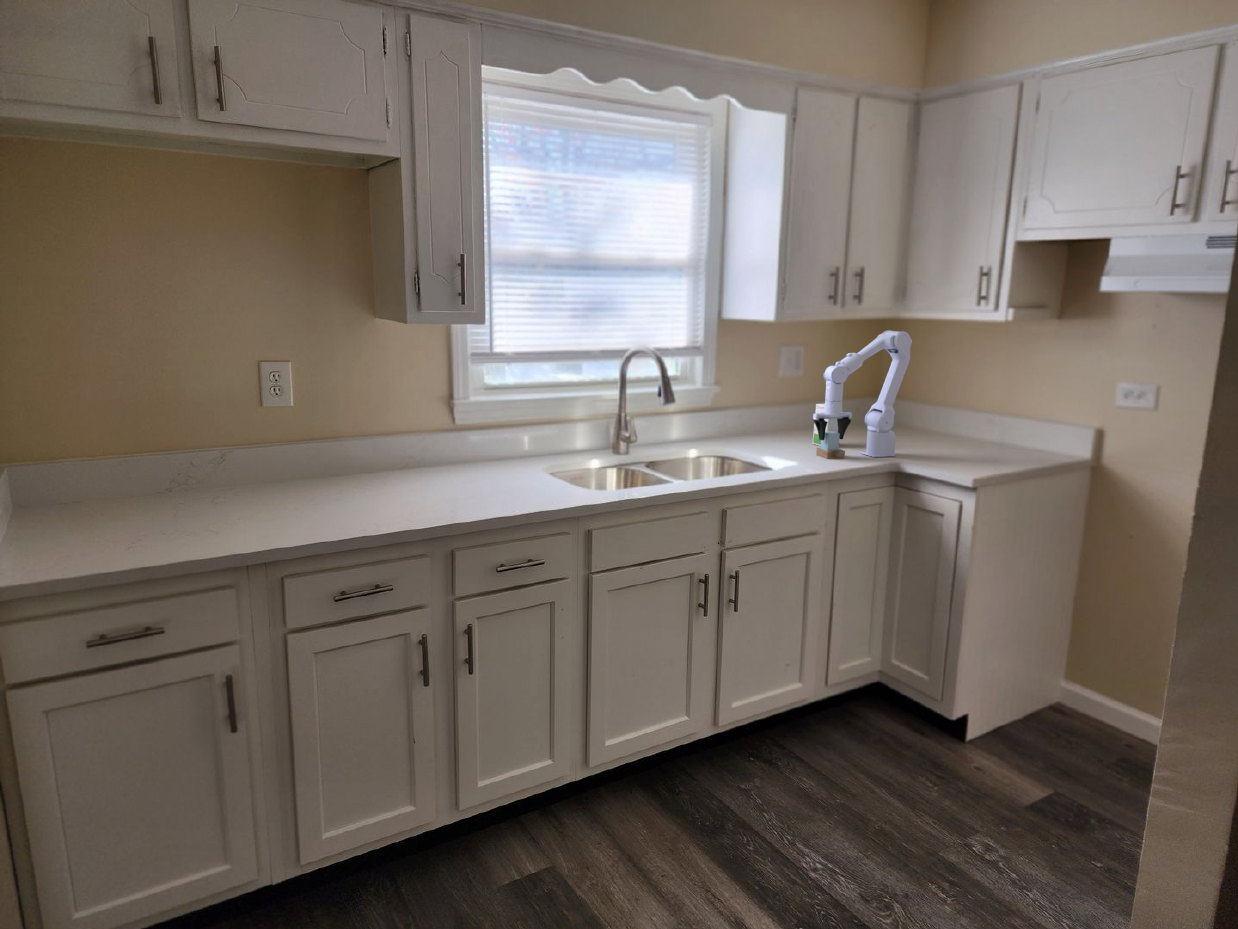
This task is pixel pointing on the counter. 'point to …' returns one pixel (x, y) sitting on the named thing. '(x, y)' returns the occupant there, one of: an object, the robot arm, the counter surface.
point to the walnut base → (830, 454)
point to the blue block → (830, 441)
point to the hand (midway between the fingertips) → (831, 439)
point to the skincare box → (831, 425)
